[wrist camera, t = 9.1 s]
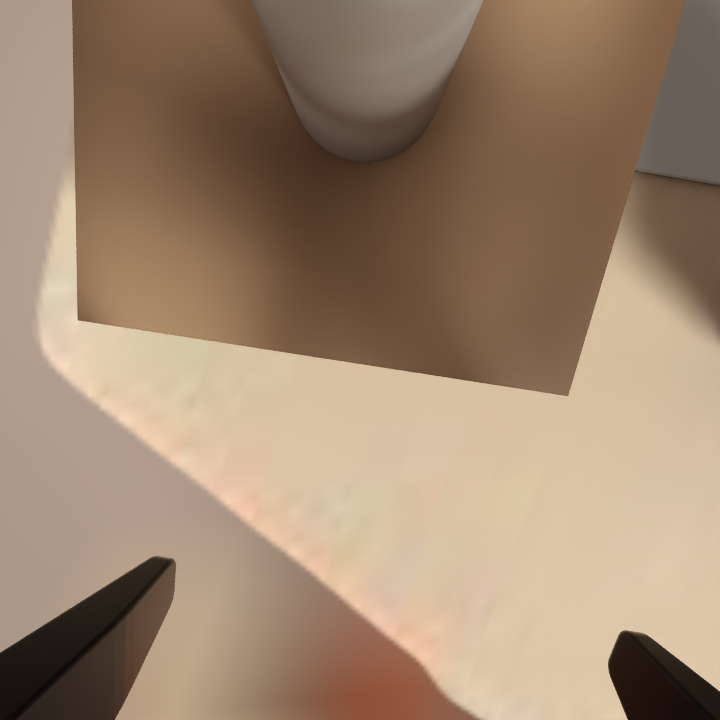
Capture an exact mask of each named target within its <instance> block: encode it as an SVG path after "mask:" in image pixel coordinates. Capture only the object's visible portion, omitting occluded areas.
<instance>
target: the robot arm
mask: <svg viewBox="0 0 720 720" xmlns="http://www.w3.org/2000/svg"><path fill="white" fill-rule="evenodd" d="M175 573H176V563H175V560H174V559H172V558H166V557H160V556H154V557H151V558H150V559H148V560H146V561H145V562H143V563H142V564H140V565H138V566H137V567H135V568H134V569H132V570H130V571H129V572H127V573H126V574H124V575H122V576H121V577H119V578H118V579H116V580H115V581H113V582H111V583H110V584H108V585H107V586H105V587H103V588H102V589H100V590H99V591H97V592H96V593H94V594H92V595H91V596H89V597H88V598H86V599H85V600H83V601H81V602H80V603H78V604H77V605H75V606H74V607H72V608H70V609H69V610H67V611H66V612H64V613H62V614H61V615H59V616H58V617H56V618H54V619H53V620H51V621H50V622H48V623H47V624H45V625H43V626H42V627H40V628H39V629H37V630H35V631H34V632H33V633H31V634H29V635H27V636H26V637H24V638H23V639H21V640H20V641H18V642H16V643H15V644H13V645H12V646H10V647H9V648H7V649H5V650H4V651H2V652H1V653H0V720H115V718H116V716H117V715H118V713H119V711H120V709H121V707H122V706H123V704H124V702H125V699H126V698H127V696H128V694H129V692H130V690H131V688H132V686H133V684H134V682H135V679H136V677H137V675H138V673H139V671H140V669H141V667H142V665H143V663H144V660H145V658H146V656H147V654H148V652H149V650H150V648H151V646H152V644H153V642H154V639H155V637H156V635H157V633H158V631H159V629H160V627H161V625H162V622H163V621H164V618H165V616H166V614H167V612H168V610H169V608H170V606H171V603H172V600H173V596H174V588H175ZM608 669H609V674H610V677H611V680H612V682H613V684H614V687H615V689H616V692H617V694H618V697H619V699H620V702H621V704H622V707H623V709H624V712H625V714H626V717H627V719H628V720H720V691H718V690H717V689H716V688H715V687H713V686H712V685H711V684H709V683H708V682H707V681H706V680H704V679H703V678H702V677H700V676H699V675H698V674H697V673H695V672H694V671H693V670H691V669H690V668H689V667H688V666H686V665H685V664H684V663H683V662H681V661H680V660H679V659H677V658H676V657H675V656H674V655H672V654H671V653H670V652H668V651H667V650H666V649H665V648H663V647H662V646H661V645H659V644H658V643H657V642H656V641H654V640H653V639H652V638H650V637H649V636H648V635H646V634H643V633H639V632H633V631H622V632H621V633H620V634H619V636H618V638H617V640H616V643H615V645H614V648H613V650H612V653H611V655H610V658H609V661H608Z"/></svg>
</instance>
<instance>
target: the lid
mask: <svg viewBox="0 0 720 720" xmlns="http://www.w3.org/2000/svg"><path fill="white" fill-rule="evenodd" d="M685 2H686V0H72V10H73V12H72V14H73V70H74V72H73V73H74V131H75V189H76V247H77V305H78V320H80V321H86V322H93V323H99V324H106V325H112V326H119V327H125V328H132V329H138V330H144V331H151V332H157V333H164V334H170V335H177V336H183V337H190V338H196V339H203V340H209V341H216V342H222V343H228V344H235V345H241V346H248V347H254V348H261V349H267V350H274V351H280V352H287V353H293V354H300V355H306V356H312V357H319V358H325V359H332V360H338V361H345V362H351V363H358V364H364V365H371V366H377V367H384V368H390V369H396V370H403V371H409V372H416V373H422V374H429V375H435V376H442V377H448V378H455V379H461V380H468V381H474V382H480V383H487V384H493V385H500V386H506V387H513V388H519V389H526V390H532V391H539V392H545V393H552V394H558V395H564V396H568V394H569V391H570V387H571V384H572V381H573V377H574V374H575V371H576V367H577V364H578V361H579V357H580V354H581V351H582V347H583V344H584V341H585V337H586V334H587V330H588V327H589V324H590V320H591V317H592V314H593V310H594V307H595V304H596V300H597V297H598V294H599V290H600V287H601V283H602V280H603V277H604V273H605V270H606V267H607V263H608V260H609V257H610V253H611V250H612V247H613V243H614V240H615V236H616V233H617V230H618V226H619V223H620V220H621V216H622V213H623V210H624V206H625V203H626V200H627V196H628V193H629V190H630V186H631V183H632V179H633V176H634V173H635V169H636V166H637V163H638V159H639V156H640V153H641V149H642V146H643V143H644V139H645V136H646V132H647V129H648V126H649V122H650V119H651V116H652V112H653V109H654V106H655V102H656V99H657V96H658V92H659V89H660V85H661V82H662V79H663V75H664V72H665V69H666V65H667V62H668V59H669V55H670V52H671V49H672V45H673V42H674V38H675V35H676V32H677V28H678V25H679V22H680V18H681V15H682V12H683V8H684V5H685Z"/></svg>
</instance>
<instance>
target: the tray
mask: <svg viewBox="0 0 720 720" xmlns="http://www.w3.org/2000/svg"><path fill="white" fill-rule="evenodd" d="M635 171H639V172H645V173H651V174H657V175H662V176H668V177H674V178H680V179H686V180H691V181H697V182H703V183H709V184H715V185H720V0H686V2H685V5H684V8H683V12H682V15H681V18H680V22H679V25H678V28H677V32H676V35H675V38H674V42H673V45H672V49H671V52H670V55H669V59H668V62H667V65H666V69H665V72H664V75H663V79H662V82H661V85H660V89H659V92H658V96H657V99H656V102H655V106H654V109H653V112H652V116H651V119H650V122H649V126H648V129H647V132H646V136H645V139H644V143H643V146H642V149H641V153H640V156H639V159H638V163H637V166H636V169H635Z"/></svg>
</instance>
